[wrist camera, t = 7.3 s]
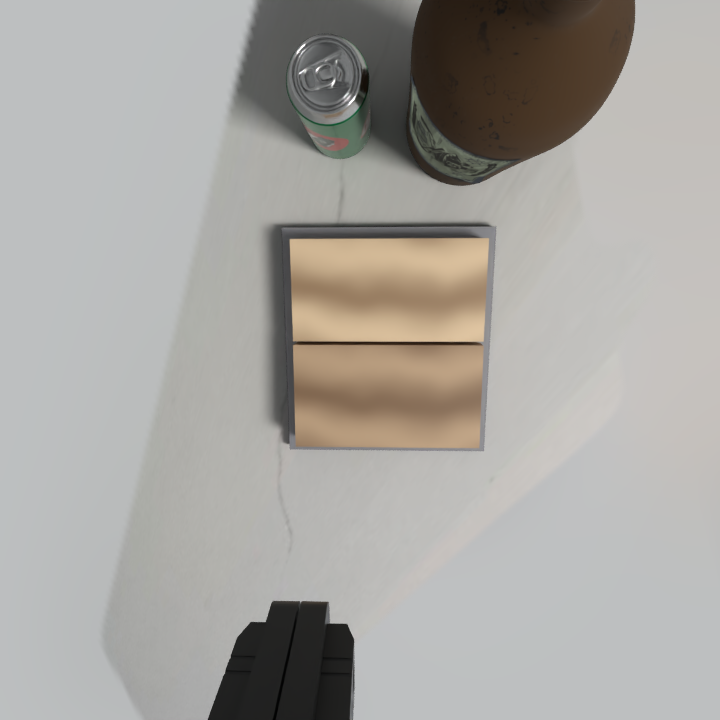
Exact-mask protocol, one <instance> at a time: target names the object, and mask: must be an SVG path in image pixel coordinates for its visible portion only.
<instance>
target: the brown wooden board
mask: <svg viewBox="0 0 720 720" xmlns="http://www.w3.org/2000/svg"><path fill="white" fill-rule="evenodd" d="M483 351H484V345H482V344H481V343H479V342H296V343H295V344H294V345H293V363H294V401H295V439H296V447H396V448H479V444H480V421H481V397H482V374H483Z"/></svg>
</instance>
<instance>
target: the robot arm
mask: <svg viewBox="0 0 720 720" xmlns="http://www.w3.org/2000/svg"><path fill="white" fill-rule="evenodd" d="M353 708H354V638H353V636H352V634H351V632H350V630H349V627H348V625H347V624H330V615H329V602H312V601H302V602H301V603H300V601H273V602H272V604H271V607H270V610H269V613H268V617H267V620H266V622H251V623H250V624H249V625H248V626H247V627H246V628H245V629H244V630H243V632H242V633H241V634H240V635H239V636H238V637H237V640H236V643H235V645H234V648H233V651H232V654H231V659H229V662H228V665H227V668H226V671H225V674H224V676H223V679H222V681H221V684H220V687H219V690H218V693H217V695H216V698H215V701H214V704H213V706H212V709H211V712H210V715H209V718H208V720H353Z"/></svg>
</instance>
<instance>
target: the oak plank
mask: <svg viewBox="0 0 720 720" xmlns="http://www.w3.org/2000/svg"><path fill="white" fill-rule="evenodd" d="M488 250H489V238H397V239H290V264H291V293H292V323H293V341H373V342H484V326H485V307H486V288H487V269H488Z"/></svg>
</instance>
